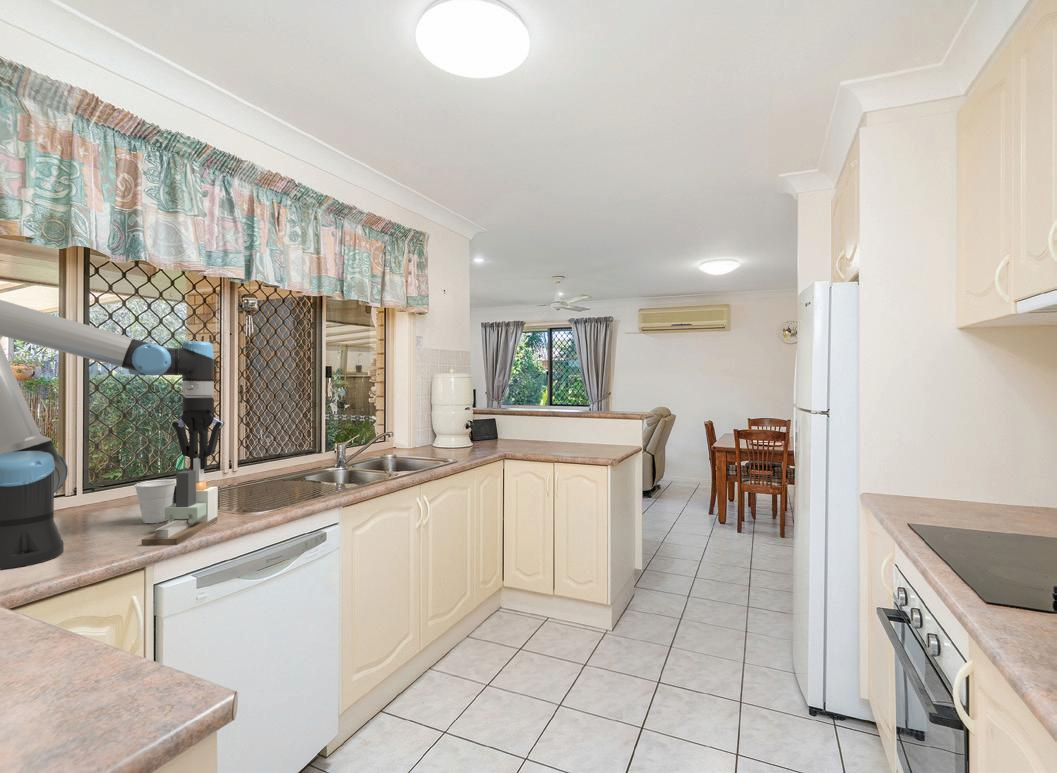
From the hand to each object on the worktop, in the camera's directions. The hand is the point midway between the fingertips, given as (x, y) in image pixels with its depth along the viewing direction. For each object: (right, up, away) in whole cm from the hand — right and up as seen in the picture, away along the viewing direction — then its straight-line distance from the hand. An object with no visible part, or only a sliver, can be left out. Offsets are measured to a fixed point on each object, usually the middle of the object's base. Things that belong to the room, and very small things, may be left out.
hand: (198, 481), depth 150 cm
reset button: (0, -5, 0) cm, 5 cm away
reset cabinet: (0, -11, 0) cm, 11 cm away
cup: (-14, -12, +3) cm, 18 cm away
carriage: (0, -10, -6) cm, 12 cm away
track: (+1, -12, -8) cm, 15 cm away
